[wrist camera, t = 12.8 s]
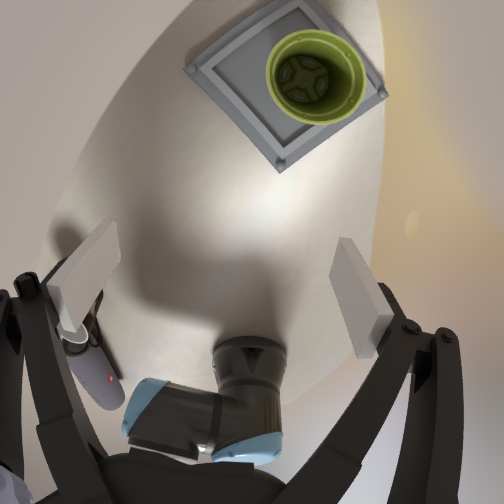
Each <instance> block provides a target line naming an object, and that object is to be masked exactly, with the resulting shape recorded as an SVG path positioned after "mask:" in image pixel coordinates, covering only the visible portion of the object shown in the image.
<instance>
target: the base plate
mask: <svg viewBox="0 0 504 504" xmlns="http://www.w3.org/2000/svg"><path fill="white" fill-rule="evenodd" d="M307 29H316V30H323V31H327V32H330V33H333V34H335V35H337V36H339V37H341V38H343V39H344V40H345V41H347V42H348V43H349V44H350V45H351V46H352V47H353V48H354V49H355V50H356V52H357V53H358V54H359V56H360V58H361V59H362V62H363V64H364V67H365V71H366V78H367V85H366V91H365V95H364V98H363V100H362V102H361V103H360V105H359V106H358V108H357V109H356V110H355V111H354V112H353V113H352V114H351V115H350V116H348V117H347V118H345V119H343V120H341V121H338V122H336V123H332V124H326V125H313V124H308V123H304V122H301V121H298V120H296V119H294V118H292V117H290V116H289V115H287V114H286V113H285V112H284V111H282V110H281V109H280V108H279V106H278V105H277V104H276V103H275V101H274V100H273V98H272V96H271V95H270V92H269V90H268V87H267V83H266V64H267V60H268V57H269V55H270V53H271V51H272V49H273V48H274V46H275V45H276V44H277V43H278V42H279V41H280V40H281V39H283V38H284V37H286V36H287V35H289V34H292V33H294V32H297V31H301V30H307ZM304 62H307V63H310V64H312V65H315V63H314V62H312V61H308V60H304ZM183 70H184V71H185V72H186V73H187V74H188V75H189V76H190V77H191V78H192V79H193V80H194V81H195V82H196V83H197V84H198V85H199V86H200V87H201V88H202V89H203V90H204V91H205V92H206V93H207V94H208V95H209V96H210V97H211V98H212V99H213V100H214V101H215V102H216V103H217V105H218V106H219V107H220V108H221V109H222V110H223V111H224V112H225V113H226V114H227V115H228V116H229V117H230V118H231V119H232V121H233V122H234V123H235V124H236V125H237V126H238V127H239V128H240V129H241V130H242V131H243V133H244V134H245V135H246V136H247V137H248V138H249V139H250V140H251V141H252V143H253V144H254V145H255V146H256V147H257V148H258V149H259V151H260V152H261V153H262V154H263V155H264V156H265V157H266V159H267V160H268V161H269V162H270V163H271V164H272V166H273V167H274V168H275V169H276V170H277V171H278V173H279V174H280V173H282V172H283V171H284V170H286V169H287V168H288V167H290V166H291V165H292V164H294V163H295V162H296V161H298V160H299V159H300V158H302V157H303V156H304V155H306V154H307V153H309V152H310V151H311V150H313V149H314V148H315V147H317V146H318V145H320V144H321V143H322V142H324V141H325V140H327V139H328V138H329V137H331V136H332V135H334V134H335V133H336V132H338V131H339V130H341V129H342V128H343V127H345V126H346V125H348V124H349V123H351V122H352V121H353V120H355V119H356V118H358V117H359V116H361V115H362V114H364V113H365V112H366V111H368V110H369V109H371V108H372V107H374V106H375V105H377V104H378V103H380V102H381V101H383V100H384V99H386V98H387V97H389V94H388V92H387V91H386V89H385V88H384V86H383V85H382V83H381V82H380V80H379V79H378V77H377V76H376V74H375V73H374V72H373V70H372V69H371V67H370V66H369V64H368V63H367V62H366V60H365V59H364V58H363V56H362V55H361V54H360V52H359V51H358V50H357V48H356V47H355V46H354V44H353V43H352V42H351V41H350V39H349V38H348V37H347V36H346V34H345V33H344V32H343V31H342V30H341V28H340V27H339V26H338V25H337V24H336V23H335V21H334V20H333V19H332V18H331V17H330V16H329V15H328V14H327V12H326V11H325V10H324V9H323V8H322V7H321V6H320V5H319V4H318V3H317V2H316V1H315V0H273V1H272V2H270V3H269V4H267V5H266V6H264V7H262V8H261V9H259V10H258V11H256V12H255V13H253V14H252V15H250V16H249V17H248V18H246V19H245V20H243V21H242V22H240V23H239V24H238V25H236V26H235V27H234V28H232V29H231V30H230V31H228V32H227V33H226V34H224V35H223V36H222V37H220V38H219V39H218V40H217V41H215V42H214V43H213V44H212V45H210V46H209V47H208V48H207V49H205V50H204V51H203V52H202V53H201V54H200V55H198V56H197V57H196V58H195V59H194V60H193V61H191V62H190V63H189V64H188V65H187V66H186V67H185V68H184V69H183ZM287 71H288V69H287V68H286V69H285V70H284V72H283V75H282V76H283V78H284V79H285V77H286V73H287ZM302 80H303V81H307V78H305V77H303V79H302ZM324 87H325V81H324V80H323V83H322V86H321V88H320V90H323V89H324ZM294 96H295V97H296V98H299V99H304V98H305V97H301V96H298V95H296V94H294Z"/></svg>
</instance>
